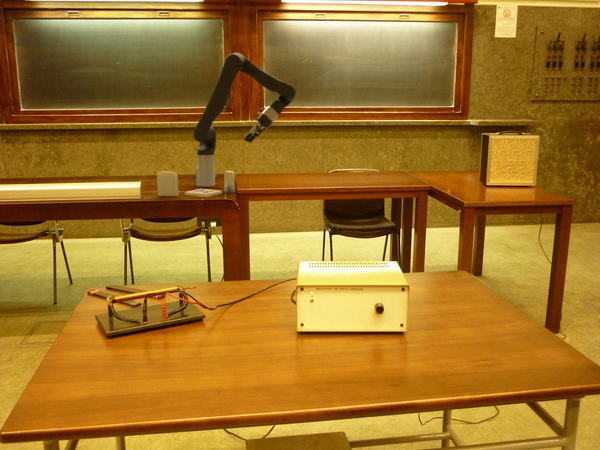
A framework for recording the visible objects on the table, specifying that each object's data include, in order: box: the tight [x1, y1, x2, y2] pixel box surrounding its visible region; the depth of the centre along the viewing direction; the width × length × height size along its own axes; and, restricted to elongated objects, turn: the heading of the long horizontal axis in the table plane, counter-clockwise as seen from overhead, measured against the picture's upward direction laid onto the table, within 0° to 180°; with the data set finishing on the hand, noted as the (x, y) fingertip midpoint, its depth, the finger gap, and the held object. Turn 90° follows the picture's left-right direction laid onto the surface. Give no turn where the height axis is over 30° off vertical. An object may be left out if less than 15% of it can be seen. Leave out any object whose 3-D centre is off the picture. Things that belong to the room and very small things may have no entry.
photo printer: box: [156, 170, 179, 197], centre depth 287 cm, size 10×4×12 cm, turn 86°
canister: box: [223, 170, 235, 195], centre depth 299 cm, size 5×5×11 cm
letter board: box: [184, 188, 223, 198], centre depth 294 cm, size 13×13×2 cm
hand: (247, 141), depth 297 cm, fingers open, 8 cm apart
